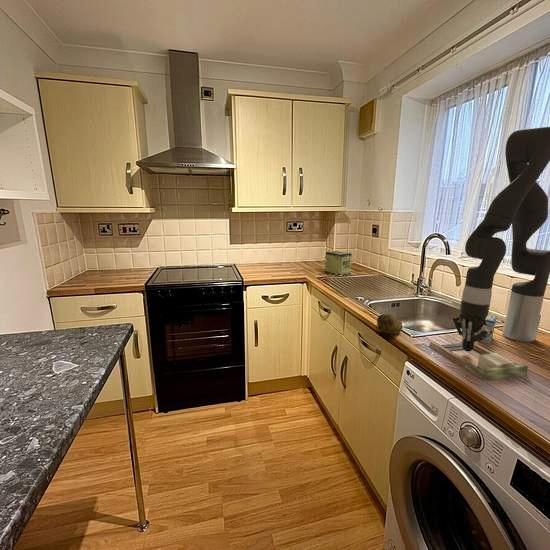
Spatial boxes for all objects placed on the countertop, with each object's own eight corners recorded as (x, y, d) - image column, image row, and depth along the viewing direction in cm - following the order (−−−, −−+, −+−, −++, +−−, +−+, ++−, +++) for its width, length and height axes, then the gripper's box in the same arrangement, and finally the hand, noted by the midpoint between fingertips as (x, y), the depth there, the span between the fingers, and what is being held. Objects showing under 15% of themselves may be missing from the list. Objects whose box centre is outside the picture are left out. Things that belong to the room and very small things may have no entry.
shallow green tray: (464, 342, 107) (465, 334, 106) (526, 375, 86) (528, 365, 86) (429, 345, 104) (430, 337, 103) (485, 380, 83) (487, 370, 83)
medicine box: (478, 334, 115) (482, 312, 113) (492, 337, 112) (497, 315, 110) (476, 340, 109) (480, 318, 107) (490, 344, 106) (495, 321, 104)
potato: (411, 335, 113) (413, 315, 111) (384, 340, 108) (386, 319, 106) (395, 326, 120) (397, 308, 118) (368, 331, 115) (370, 311, 114)
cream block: (493, 364, 92) (495, 353, 91) (512, 375, 86) (514, 362, 86) (477, 366, 91) (479, 354, 90) (495, 377, 85) (497, 364, 84)
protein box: (341, 276, 206) (342, 254, 202) (324, 272, 218) (325, 251, 214) (350, 274, 212) (352, 253, 209) (333, 271, 224) (334, 250, 221)
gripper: (505, 305, 89) (495, 359, 92) (467, 293, 101) (460, 340, 105) (485, 307, 87) (475, 361, 91) (449, 294, 99) (442, 342, 103)
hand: (467, 350), depth 98 cm, fingers closed
